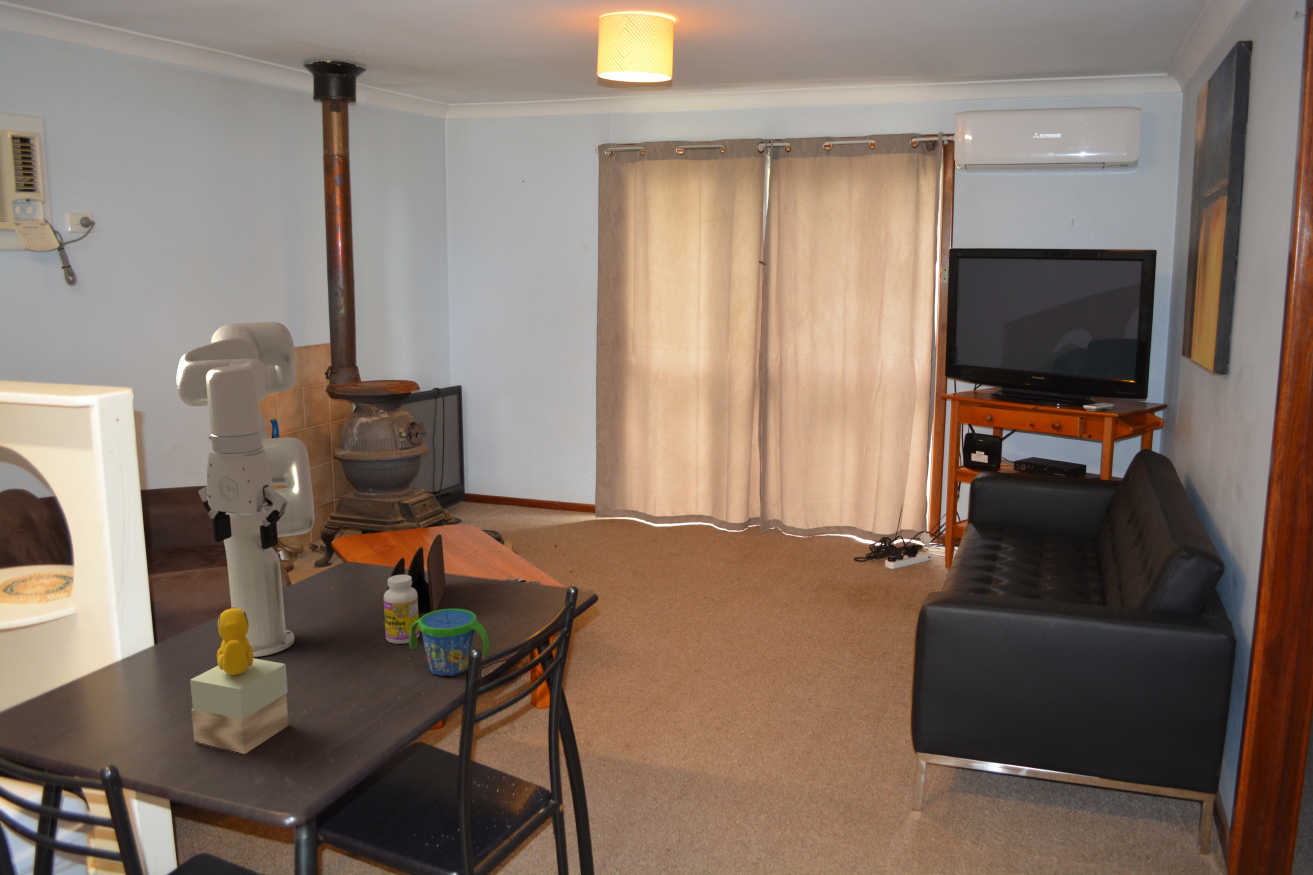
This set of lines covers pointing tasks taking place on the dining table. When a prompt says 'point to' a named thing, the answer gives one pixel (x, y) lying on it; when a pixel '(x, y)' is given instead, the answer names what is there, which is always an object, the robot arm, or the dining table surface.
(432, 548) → the letter holder
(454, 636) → the snack cup
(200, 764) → the dining table surface
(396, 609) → the supplement bottle
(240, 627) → the duckling
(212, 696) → the tower top
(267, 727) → the tower base
